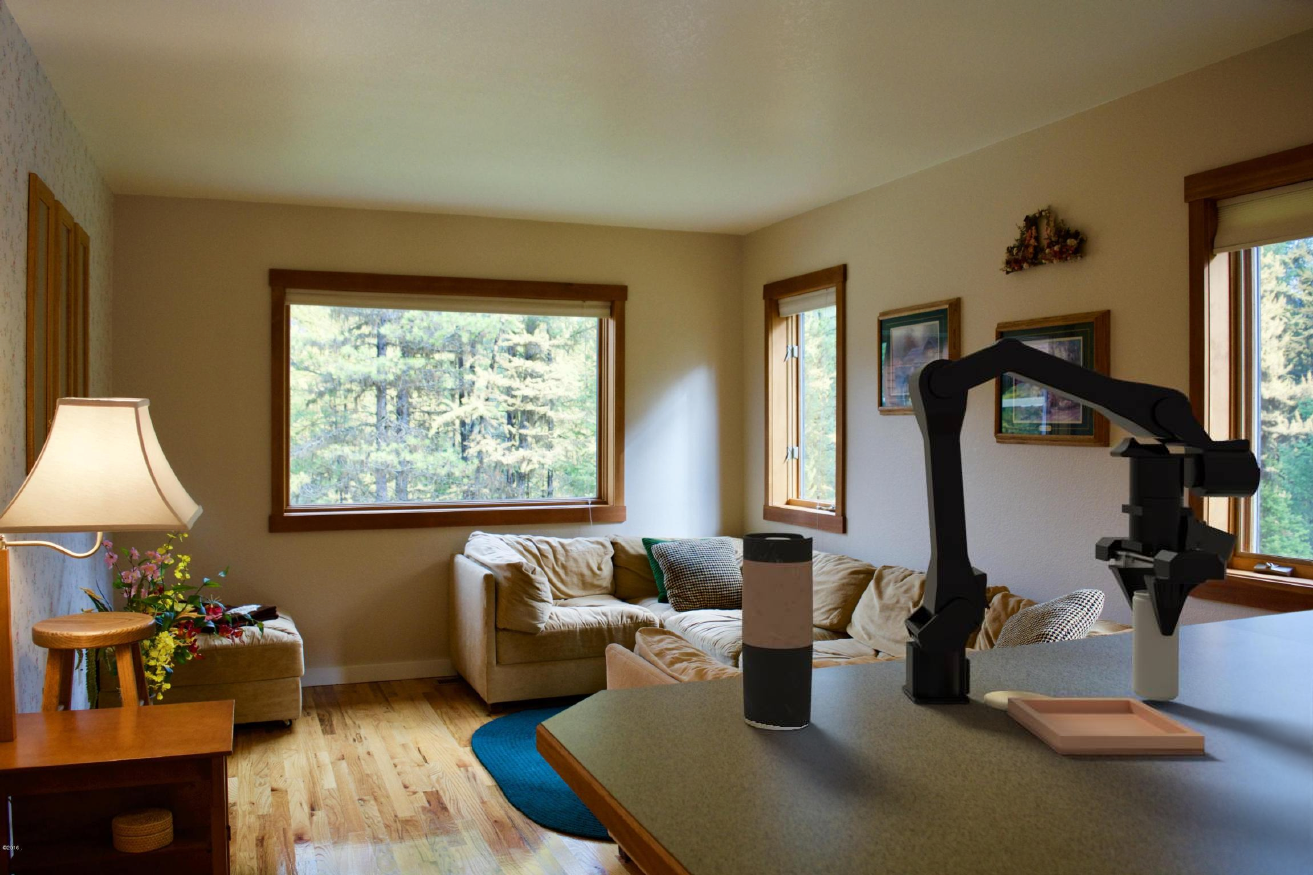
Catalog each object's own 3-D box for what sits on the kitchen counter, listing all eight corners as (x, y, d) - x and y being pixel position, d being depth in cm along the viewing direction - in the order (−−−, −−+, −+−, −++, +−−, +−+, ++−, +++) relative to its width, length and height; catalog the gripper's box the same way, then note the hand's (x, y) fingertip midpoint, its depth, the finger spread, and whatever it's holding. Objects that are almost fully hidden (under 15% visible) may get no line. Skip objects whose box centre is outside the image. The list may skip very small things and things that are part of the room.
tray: (1060, 754, 95) (1060, 735, 95) (1007, 713, 109) (1007, 697, 109) (1204, 754, 95) (1204, 736, 95) (1133, 713, 109) (1133, 697, 109)
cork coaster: (998, 713, 109) (998, 709, 109) (974, 694, 117) (974, 690, 117) (1070, 713, 109) (1070, 709, 109) (1041, 694, 117) (1041, 690, 117)
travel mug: (730, 725, 104) (730, 537, 104) (757, 708, 111) (757, 531, 111) (798, 735, 101) (799, 540, 101) (822, 717, 107) (823, 534, 107)
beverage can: (1174, 704, 111) (1175, 597, 111) (1128, 697, 114) (1128, 593, 114) (1182, 695, 114) (1182, 592, 114) (1137, 688, 117) (1137, 588, 117)
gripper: (1276, 502, 105) (1275, 648, 105) (1182, 492, 123) (1181, 617, 123) (1172, 502, 105) (1171, 648, 105) (1093, 492, 123) (1092, 616, 123)
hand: (1155, 631), depth 114 cm, fingers closed on beverage can, 5 cm apart
